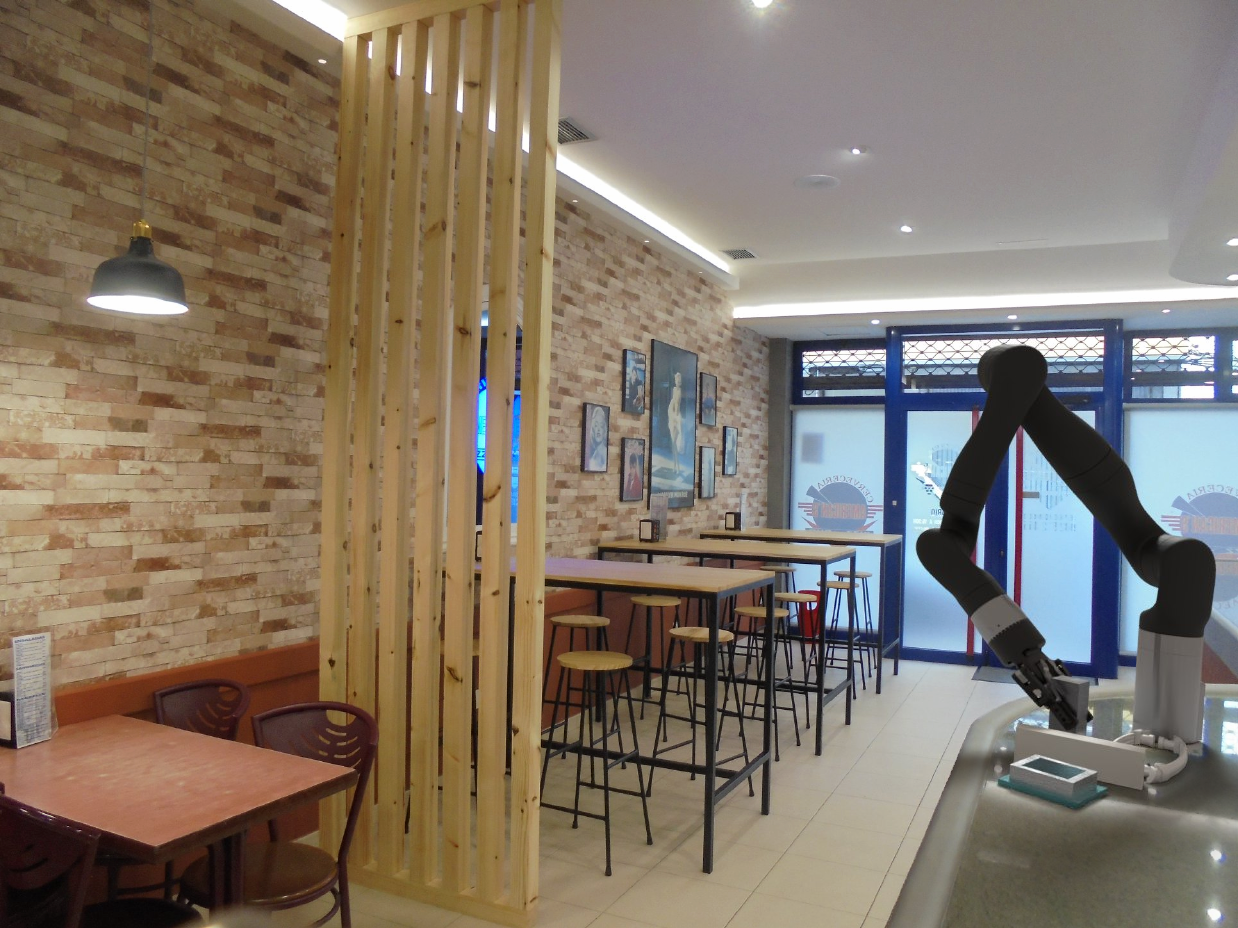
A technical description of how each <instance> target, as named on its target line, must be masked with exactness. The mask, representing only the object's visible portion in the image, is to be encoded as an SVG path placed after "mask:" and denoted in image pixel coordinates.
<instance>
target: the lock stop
mask: <svg viewBox="0 0 1238 928" xmlns="http://www.w3.org/2000/svg"><path fill="white" fill-rule="evenodd" d="M1052 680H1053V681H1054V682H1055V683H1056V691H1057V692H1058V694H1059V696H1060V698H1061V699H1062V701H1061V702H1064V703H1065V704H1066V705H1067V707H1068V708H1069V709H1070V711H1071V712H1072V713H1073V714H1074V716H1075V717H1076V718H1077V720H1078V721H1079V725H1077V726H1076V727H1074V728H1073V729H1071V730H1065V729H1064V727H1063V726H1062V725H1061V723H1060V722H1059V721H1058V719H1057V718H1056V717H1055V716H1054V714H1053V713H1052V712H1051V710H1050V709H1049V713H1048V714H1049V715H1048V725H1047V726H1048V727H1047V729H1052V730H1058V731H1063V732H1068V733H1073V734H1078V735H1083V736H1087V729H1088V723H1087V716H1088V710H1089V699H1090V682H1091V681H1090V680H1087V679H1082V678H1079V677H1078V678H1077V677H1073V676H1072V677H1068V676H1064V675H1061V676H1058V677H1054V678H1052ZM1061 702H1060V703H1061Z"/></svg>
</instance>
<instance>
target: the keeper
mask: <svg viewBox="0 0 1238 928" xmlns="http://www.w3.org/2000/svg"><path fill="white" fill-rule="evenodd" d="M1097 775H1098V772H1097V771H1093V770H1090V769H1086V768H1083V767H1079V766H1076V765H1072V764H1069V763H1065V762H1061V761H1058V760H1054V759H1051V758H1047V757H1044V756H1040V755H1037V754H1036V755H1033V756H1030V757H1028V758H1025V759H1023V760H1020V761H1018V762H1013V763H1010V764H1009V774H1006V775H1004V776H1001V777H998V778H997V785H998V786H1001V787H1003V788H1008V789H1009V790H1014V791H1016V792H1020V793H1023V794H1026V795H1029V796H1032V797H1036V798H1038V799H1042V800H1045V801H1049V802H1051V803H1054V804H1058V805H1061V806H1064V807H1067V808H1070V809H1073V810H1076V811H1077V810H1079V809H1081V808H1083V807H1085V806H1087V805H1088V804H1091V803H1093V802H1094V801H1096V800H1099V799H1100V798H1102V797H1104V796H1106V795H1108V789H1109V787H1106V786H1102V785H1099V784H1098V780H1097Z"/></svg>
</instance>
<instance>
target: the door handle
mask: <svg viewBox="0 0 1238 928" xmlns="http://www.w3.org/2000/svg"><path fill="white" fill-rule="evenodd" d="M1149 732H1150V730H1142V729H1138V730H1131V731H1129V733H1126V734H1124V735H1120V736H1119V737H1117V738H1115V739H1114V740H1113V742H1118V743H1123V744H1128V745H1133V744H1134V745H1136V744H1139V745H1138V746H1141V745H1146V746H1147V747H1149V746H1150V747H1149V748H1154V747H1155V745H1156V744H1157V749H1158V750H1162V749H1163V750H1168V751H1172V752H1173V754H1176V753H1177V754H1176V755H1179V756H1178V757H1177V758H1176V759H1175V760H1173V761H1171V762H1169V763H1166V764H1165V763H1162V762H1155V763H1154V765H1153V766H1152V765H1151V763H1146V764H1145V767H1144V777H1146V781H1145V783H1146V784H1154V783H1165V782H1167V781H1169V779H1170V778H1172V777H1174V776H1176V775H1177V774H1179V773H1180V772H1182V770H1183V769H1184V768H1185V767H1186V765H1187V763H1188V758H1189V756H1188V746H1187V745H1186V744H1187V743H1184V742H1183V741H1182V739H1181V738H1179V737H1177V736H1175V735H1174V736H1173V737H1174V739H1173V740H1171V738H1168V739H1165V738H1164V737H1161V736H1159V739H1158V740H1156V739H1155V735H1150V734H1149ZM1140 744H1141V745H1140ZM1134 745H1133V746H1134Z"/></svg>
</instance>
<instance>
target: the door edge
mask: <svg viewBox="0 0 1238 928" xmlns="http://www.w3.org/2000/svg"><path fill="white" fill-rule="evenodd" d="M1113 741H1114V740H1113ZM1113 741H1112V740H1107V739H1103V738H1102V739H1101V738H1096V737H1091V736H1087V735H1086V736H1083V735H1078V734H1073V733H1068V732H1063V731H1058V730H1052V729H1048V727H1041V726H1037V725H1031V724H1027V723H1023V722H1019V723H1018V724H1017V725H1016V727H1015V736H1014V750H1013V751H1014V753H1013V763H1015V762H1018V761H1020V760H1023V759H1025V758H1028V757H1030V756H1033V755H1036V754H1037V755H1040V756H1044V757H1047V758H1051V759H1054V760H1058V761H1061V762H1065V763H1069V764H1072V765H1076V766H1079V767H1083V768H1086V769H1090V770H1093V771H1097V772H1098V775H1097V782H1103V783H1109V784H1112V785H1117V786H1120V787H1121V786H1123V787H1125V788H1130V789H1135V790H1140V791H1143V787H1144V779H1145V776H1144V767H1145V765H1146V750H1147V749H1146V747H1143V746H1139V745H1128V744H1123V743H1118V742H1113Z"/></svg>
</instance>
